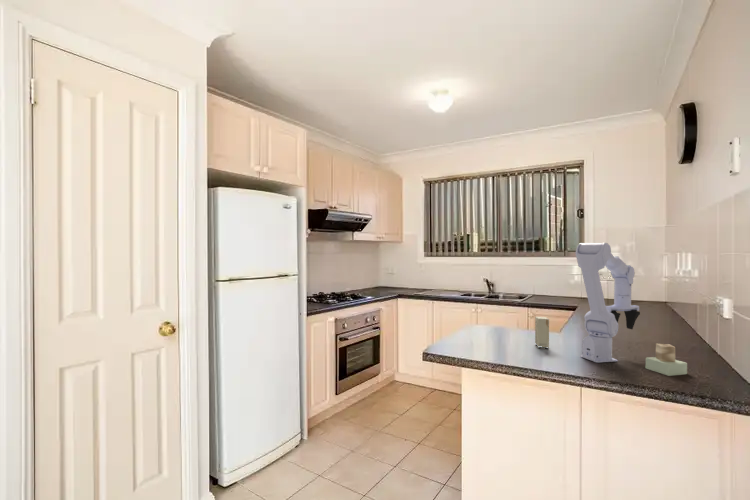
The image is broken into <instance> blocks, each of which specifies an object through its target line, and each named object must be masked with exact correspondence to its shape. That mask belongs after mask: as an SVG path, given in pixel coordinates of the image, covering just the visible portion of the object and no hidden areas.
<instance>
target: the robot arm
mask: <svg viewBox="0 0 750 500" xmlns="http://www.w3.org/2000/svg"><path fill="white" fill-rule="evenodd" d="M575 258H576V261H577V265H578V268H580V269H581V274H582V279H583V283H584V287H585V292H586V293H585V294H586V297H587V301H588V305H589V311H587V312H586V313H585V314H584V316H583V318H584V324H583V325H584V329H585V331H586V332H587V334H588V335H587V336H584V338H583V339H582V347H581V348H582V350H581V352H582V353H581V354H580V358H583V359H586V360H588V361H592V362H594V363H610V362H611V363H612V362H613V363H614V362H618V361H619V360H618V359H616V358H614V357H613V337H615V336H616V335H617V334H618V333H619V319H620V316H621V312H624V316H625V321H626V322H625V323H626V328H627V329H629V330H633V329H634V327H635V323H636V321H637V319H638V317H639V316H640V315H641V312H640V305H634V304H633V305H632V285H633V283H634V278H635V274H636V272H635V268H634V267H633V266H632V265H631V264H630V265H627V264H626V263H625V262H624V261H623V260H622V259H621V258H620V256H617V255H613V254H612V249H611V245H610V244H609V243H608V242H580V243H578V244H577V246H576V249H575ZM604 268H606V269H607V270H608V271H610V274H611V277H612V279H614V290H613V298H614V299H613V304H611V305H606V301H605V297H604V293H603V286H602V283H601V278H600V274H599V271H600V270H602V269H604Z"/></svg>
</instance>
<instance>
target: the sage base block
mask: <svg viewBox="0 0 750 500" xmlns="http://www.w3.org/2000/svg"><path fill="white" fill-rule="evenodd" d="M645 369H647V370H649V371H653V372H655V373H659V374H662V375H664V376H668V377H671V376H682V375H687V374H688V363H687V362H685V361H681V360H677V359H675V362H665V361H660V360H658V359H657V358H656V356H651V357H648V356H647V357H645Z"/></svg>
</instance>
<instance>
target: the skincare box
mask: <svg viewBox="0 0 750 500" xmlns="http://www.w3.org/2000/svg"><path fill="white" fill-rule="evenodd" d="M534 321H535V323H534V324H535V325H534V326H535V327H534V329H535V330H534V333H535V335H534V337H535V338H534V340H535V341H534V344H535V343H536V344H537V345H538V346H542V347H548V348H549V349H550V319H549V318H548V317H546V316H535V319H534Z"/></svg>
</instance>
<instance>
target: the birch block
mask: <svg viewBox="0 0 750 500" xmlns="http://www.w3.org/2000/svg"><path fill="white" fill-rule="evenodd" d="M655 357H656V358H657V359H658V360H660V361H665V362H675V360H676V347H675V346H674V345H672V344H669V343H655Z"/></svg>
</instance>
